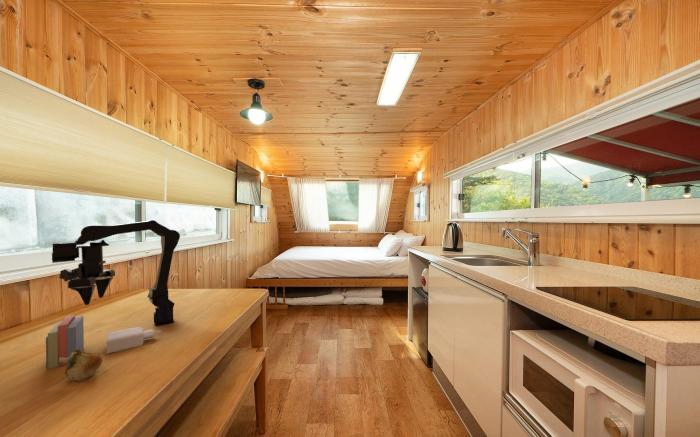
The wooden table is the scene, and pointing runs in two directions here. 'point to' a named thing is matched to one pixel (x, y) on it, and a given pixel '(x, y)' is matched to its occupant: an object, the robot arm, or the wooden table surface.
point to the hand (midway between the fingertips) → (94, 301)
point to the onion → (81, 365)
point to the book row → (64, 340)
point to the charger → (127, 338)
